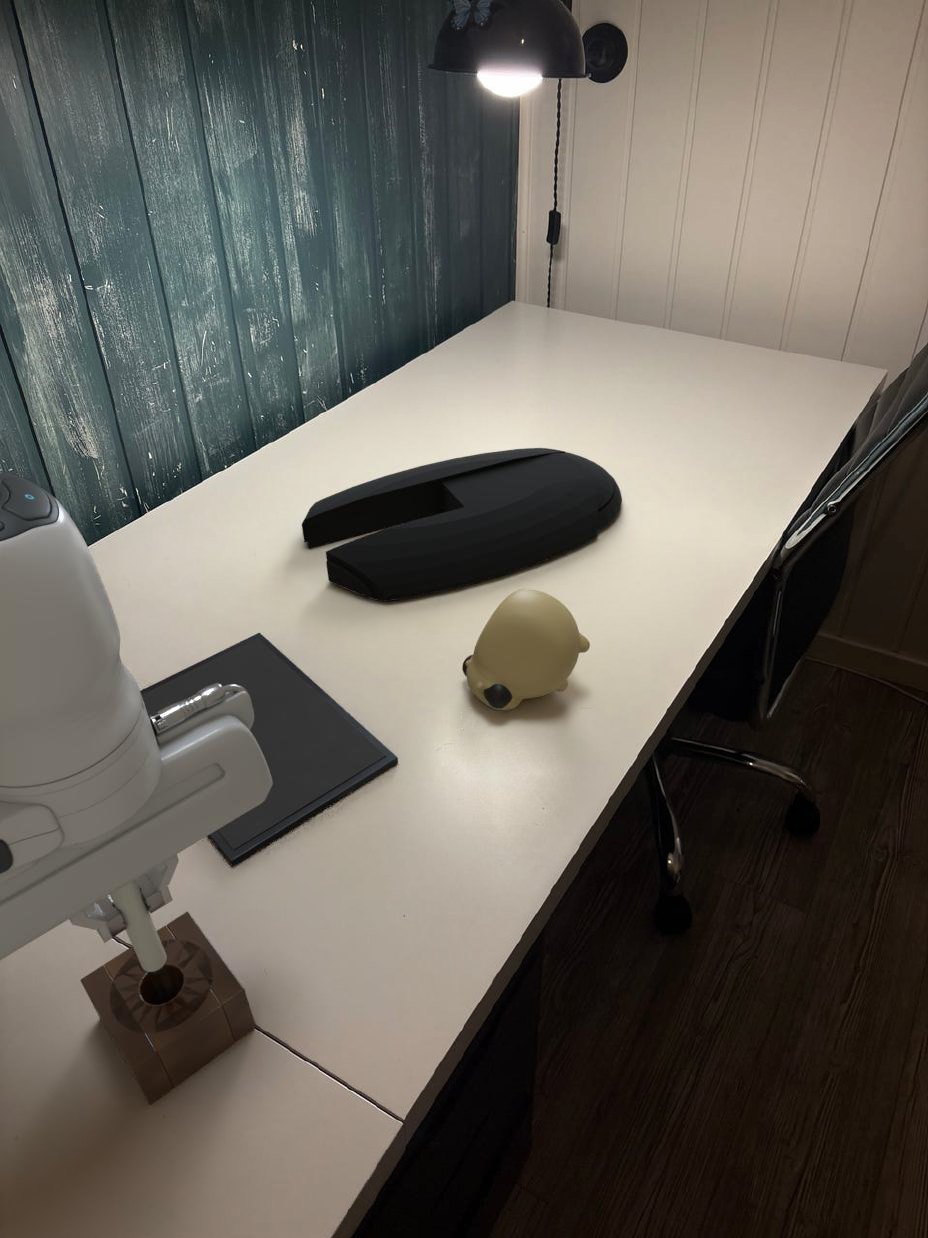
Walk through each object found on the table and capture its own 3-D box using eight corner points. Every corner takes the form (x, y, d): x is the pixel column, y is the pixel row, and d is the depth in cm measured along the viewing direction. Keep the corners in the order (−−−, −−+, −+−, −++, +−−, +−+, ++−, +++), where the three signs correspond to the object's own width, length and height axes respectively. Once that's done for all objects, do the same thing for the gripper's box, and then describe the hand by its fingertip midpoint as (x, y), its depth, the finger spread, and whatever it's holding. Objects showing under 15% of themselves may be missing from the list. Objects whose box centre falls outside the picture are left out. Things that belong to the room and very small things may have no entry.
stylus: (151, 985, 59) (92, 850, 50) (141, 968, 60) (80, 832, 51) (174, 970, 60) (119, 834, 51) (163, 953, 61) (107, 817, 52)
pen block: (150, 1106, 60) (131, 1069, 57) (99, 1017, 65) (79, 979, 62) (256, 1027, 64) (244, 989, 61) (201, 949, 69) (187, 910, 66)
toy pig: (500, 683, 96) (426, 650, 90) (571, 596, 93) (500, 554, 87) (541, 744, 89) (463, 712, 82) (620, 651, 86) (545, 610, 79)
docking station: (664, 529, 112) (669, 493, 109) (354, 624, 99) (349, 587, 96) (560, 444, 130) (561, 411, 127) (284, 515, 116) (279, 480, 113)
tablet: (232, 867, 74) (230, 860, 74) (108, 713, 89) (106, 706, 88) (398, 763, 83) (397, 756, 82) (260, 637, 97) (259, 631, 97)
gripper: (216, 644, 55) (254, 797, 63) (-159, 827, 44) (-53, 980, 53) (272, 698, 51) (305, 853, 60) (-125, 912, 41) (-16, 1062, 49)
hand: (133, 914), depth 56 cm, fingers closed on stylus, 2 cm apart
